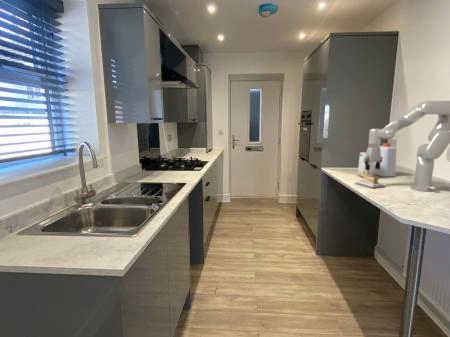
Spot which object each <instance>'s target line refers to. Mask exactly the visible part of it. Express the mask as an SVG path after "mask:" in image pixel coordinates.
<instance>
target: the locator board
mask: <svg viewBox="0 0 450 337" xmlns="http://www.w3.org/2000/svg"><path fill="white" fill-rule="evenodd" d="M354 184H355V185H357V186H360V187H363V188H369V189H372V190H374V189H382V188H387V185H383V183H380V182H378V184H370V183H366V182H363V180H358V182H355V183H354Z"/></svg>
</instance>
